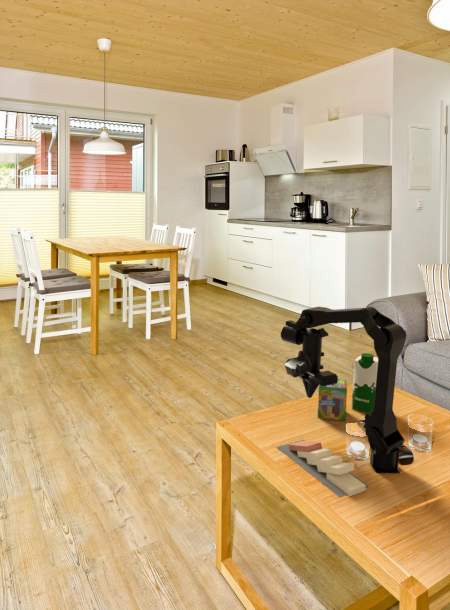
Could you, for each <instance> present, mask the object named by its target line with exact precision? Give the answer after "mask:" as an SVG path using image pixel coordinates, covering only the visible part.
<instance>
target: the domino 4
mask: <svg viewBox="0 0 450 610" xmlns="http://www.w3.org/2000/svg"><path fill="white" fill-rule="evenodd" d="M317 469H318V472H325V473H332V474H338V475H340V474H343V473H346V472H352V471H354V470H355V465H354V463H352V462H342V463H339V464H336V465H332V466H329V467H326V466H318V465H317Z"/></svg>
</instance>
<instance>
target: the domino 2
mask: <svg viewBox="0 0 450 610" xmlns="http://www.w3.org/2000/svg"><path fill="white" fill-rule="evenodd" d="M297 453H298V457H303V458H310V459H321V458H324V457H327V456H331V455H333V454H332V449H331V448H323V447H322V448H321V449H318V450H314V451H311V452H300V451H297Z"/></svg>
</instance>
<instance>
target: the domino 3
mask: <svg viewBox="0 0 450 610" xmlns="http://www.w3.org/2000/svg"><path fill="white" fill-rule="evenodd" d="M342 462H343V456H342V455H335V454H332V455H331V456H327V457H324V458H321V459H310V458H307V463H308V464H311V465H318V466H326V467H329V466H332V465H336V464H339V463H342Z"/></svg>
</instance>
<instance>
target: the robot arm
mask: <svg viewBox="0 0 450 610" xmlns="http://www.w3.org/2000/svg"><path fill="white" fill-rule="evenodd" d="M301 311H302V312H301V313H300V316H299V318H298V319H297V321H294V320H286V321H285V325H283V327H282V330H281V331H280V339H281V340H282V341H284V342H285V343H290V344H293V345H297V346H301V345H302V346H301V347H302V350H298V355H297V356H296V357H291V358H287V360H286V361H285V363H284V367H285V371H286V374H288V375H289V376H292V377H293V378H298V377H299V378H300V379H301V381H302V383H303V386H304V390H305V393H306V397H307V398H308V399H311V398H312V397H313V396H314V394H315V392H316V390H317V389H318V388H319V385H320V386H327V385H332V384H336V383H338V379H339V376H338V375H337V374H336V373H334V372H332V371H331V372H330V370H324V367H325V366H324V365H323V364H321V363H322V362H321V361H322V357H324V356H325V352H324V351H322V347H323V346H322V345H323V338H326V337H329V335H330V334H329V333H328V331H327V330H326V329H325V328H324V327H321V328H318V329H317V328H316V327H320V326H324V325H327V324H328V325H329V324H344V323H345V324H349V323H351V324H352V323H354V324H356V323H360V324H361V325H362V327H363V328H364V330H365V333H366V335H368V336H369V337H370V339H372V341H373V350H374V351H375V354H376V356H377V358H378V367H377V378H376V389H375V400H374V409H373V411H371V412H368V413H367V412H365V414H364V425H363V427H362V428H363V429H364V431H365V432H364V433H365V435H366V437H367V439H368V445H369V448H370V458H369V464H370V467H372V469H373V471H374V472H375V473H376V474H397V475H398V474H400V473H401V472H400V469H399V460H400V448H399V447H402V446H403V444H404V443H405V440H406V439H405V438H404V436H403V435H402V433H401V432H400V430H399V429H398V425H397V417H396V414H395V411H394V410H393V408H394V407H393V406H394V398H395V397H394V396H395V388H396V387H395V386H396V379H397V378H396V375H397V365H398V360H399V357H400V355H401V354H402V351H403V349H404V347H405V343H406V340H407V332H406V330H405V329H404V328H403V327H402V326H401V325H400V324H397V323H396V322H395V321H394V320H393V319H391V318H390V317H388V316H386V315H384V314H383V313H381V312H380V311H379V310H378V309H377V308H375V307H373V306H367V307H354V308H341V309H340V308H339V309H337V308H336V309H332V308H329V307H325V306H315V307H310V308H309V307H308V308H306V309H303V310H301Z"/></svg>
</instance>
